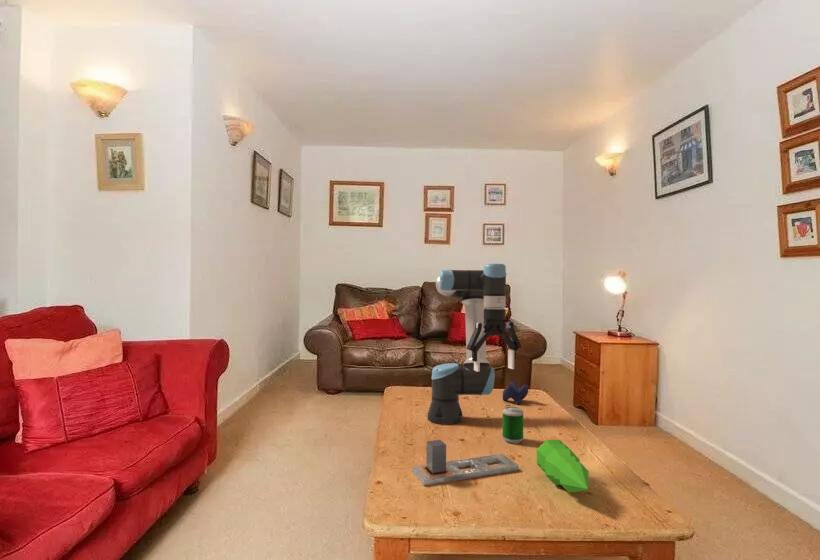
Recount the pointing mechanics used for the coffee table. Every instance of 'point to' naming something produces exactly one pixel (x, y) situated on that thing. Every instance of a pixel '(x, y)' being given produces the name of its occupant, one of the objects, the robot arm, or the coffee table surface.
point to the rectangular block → (436, 457)
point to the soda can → (513, 425)
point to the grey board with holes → (478, 470)
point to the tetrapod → (515, 392)
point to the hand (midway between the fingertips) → (494, 369)
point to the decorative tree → (562, 466)
